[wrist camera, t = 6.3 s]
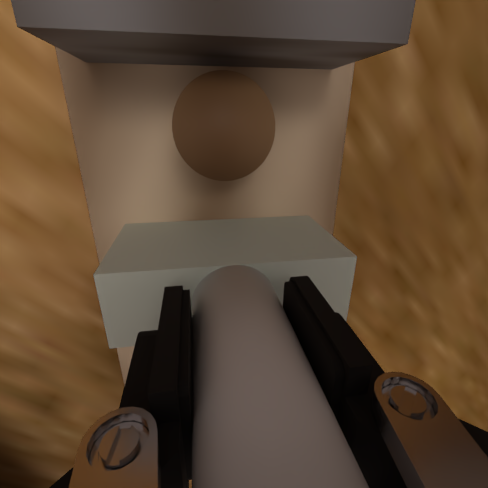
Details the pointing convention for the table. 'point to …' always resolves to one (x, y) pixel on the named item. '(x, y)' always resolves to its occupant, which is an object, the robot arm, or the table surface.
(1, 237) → the table surface
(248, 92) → the walnut
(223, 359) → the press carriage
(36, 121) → the table surface
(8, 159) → the table surface
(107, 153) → the base
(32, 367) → the table surface
